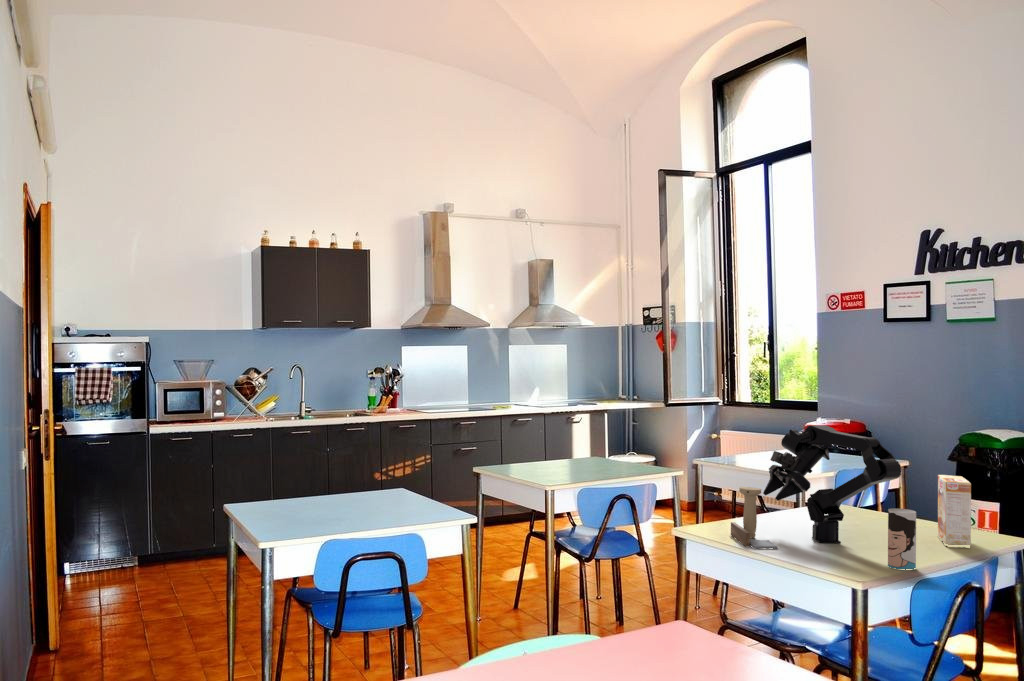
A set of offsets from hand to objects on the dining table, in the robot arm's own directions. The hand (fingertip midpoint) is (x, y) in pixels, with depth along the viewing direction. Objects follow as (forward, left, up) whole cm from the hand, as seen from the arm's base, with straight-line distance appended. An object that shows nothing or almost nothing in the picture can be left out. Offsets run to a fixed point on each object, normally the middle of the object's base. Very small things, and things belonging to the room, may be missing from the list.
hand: (770, 496), depth 253 cm
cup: (-24, +35, -13) cm, 44 cm away
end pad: (+6, +12, -12) cm, 18 cm away
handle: (+6, +1, -13) cm, 14 cm away
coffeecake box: (-55, +5, -13) cm, 56 cm away
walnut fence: (+11, +5, -12) cm, 17 cm away
